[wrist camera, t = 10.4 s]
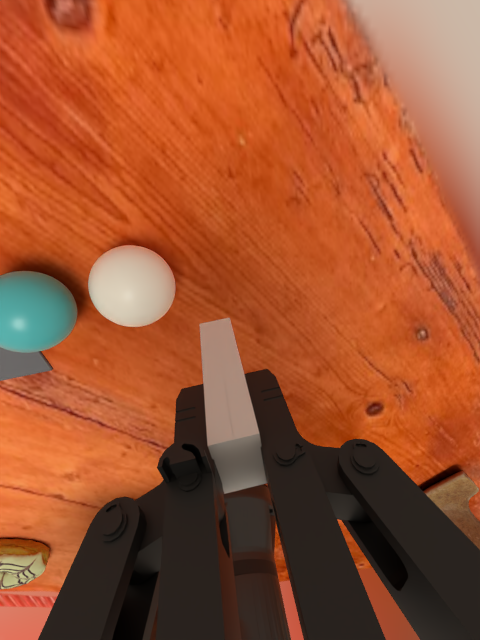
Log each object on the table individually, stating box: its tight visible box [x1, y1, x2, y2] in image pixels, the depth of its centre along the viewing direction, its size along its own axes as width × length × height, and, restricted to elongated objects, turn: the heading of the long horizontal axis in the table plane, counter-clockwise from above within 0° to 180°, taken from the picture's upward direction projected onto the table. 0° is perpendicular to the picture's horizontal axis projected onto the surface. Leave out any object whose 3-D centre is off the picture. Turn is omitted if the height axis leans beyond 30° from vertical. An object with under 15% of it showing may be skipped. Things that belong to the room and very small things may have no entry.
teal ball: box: [0, 271, 77, 353], centre depth 18 cm, size 6×6×6 cm
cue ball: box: [88, 245, 176, 327], centre depth 19 cm, size 6×6×6 cm
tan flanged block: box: [423, 471, 480, 549], centre depth 47 cm, size 15×12×15 cm
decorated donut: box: [0, 538, 50, 589], centre depth 40 cm, size 10×11×4 cm
